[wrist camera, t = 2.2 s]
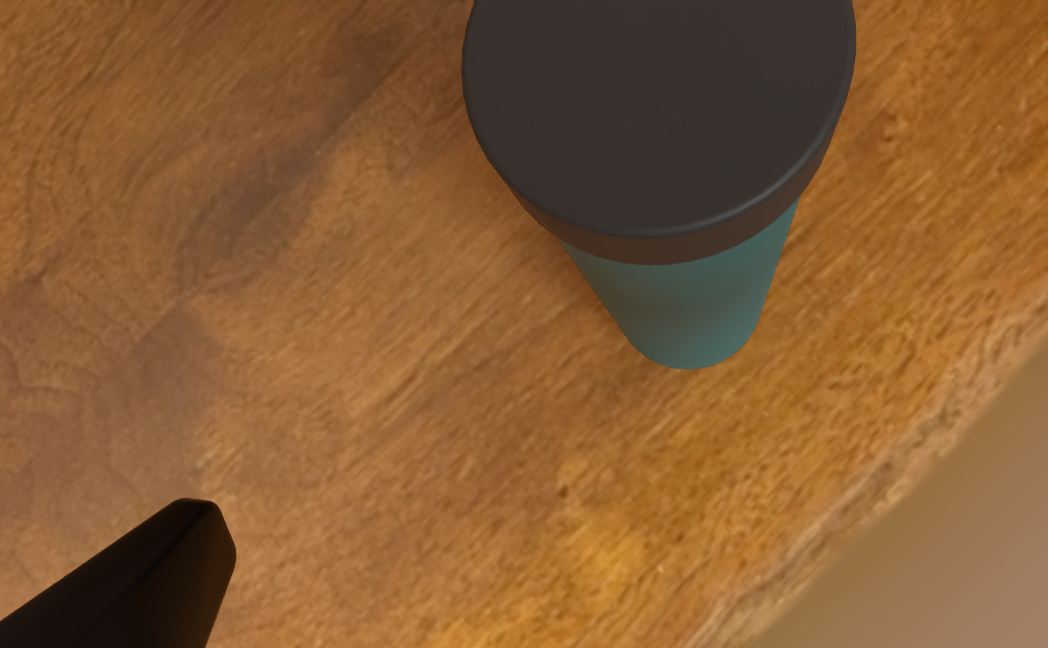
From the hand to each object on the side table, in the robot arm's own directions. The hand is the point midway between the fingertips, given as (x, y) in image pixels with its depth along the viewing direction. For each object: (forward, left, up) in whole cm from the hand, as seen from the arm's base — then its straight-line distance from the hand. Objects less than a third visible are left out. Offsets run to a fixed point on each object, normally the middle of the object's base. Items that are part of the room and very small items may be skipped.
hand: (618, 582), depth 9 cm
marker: (+3, -3, -11) cm, 12 cm away
